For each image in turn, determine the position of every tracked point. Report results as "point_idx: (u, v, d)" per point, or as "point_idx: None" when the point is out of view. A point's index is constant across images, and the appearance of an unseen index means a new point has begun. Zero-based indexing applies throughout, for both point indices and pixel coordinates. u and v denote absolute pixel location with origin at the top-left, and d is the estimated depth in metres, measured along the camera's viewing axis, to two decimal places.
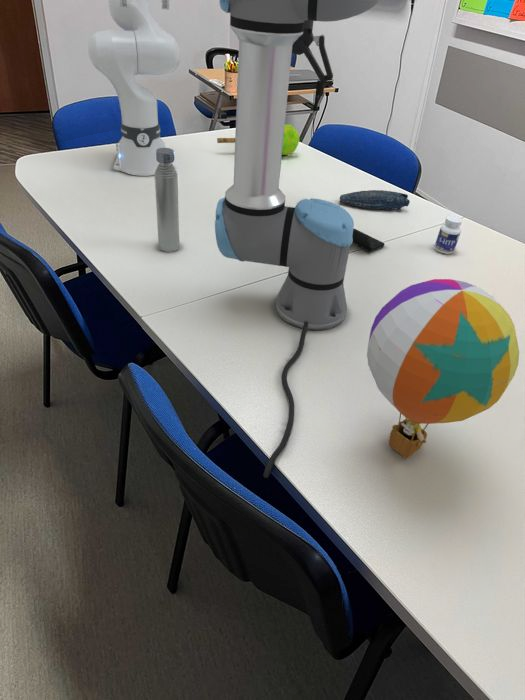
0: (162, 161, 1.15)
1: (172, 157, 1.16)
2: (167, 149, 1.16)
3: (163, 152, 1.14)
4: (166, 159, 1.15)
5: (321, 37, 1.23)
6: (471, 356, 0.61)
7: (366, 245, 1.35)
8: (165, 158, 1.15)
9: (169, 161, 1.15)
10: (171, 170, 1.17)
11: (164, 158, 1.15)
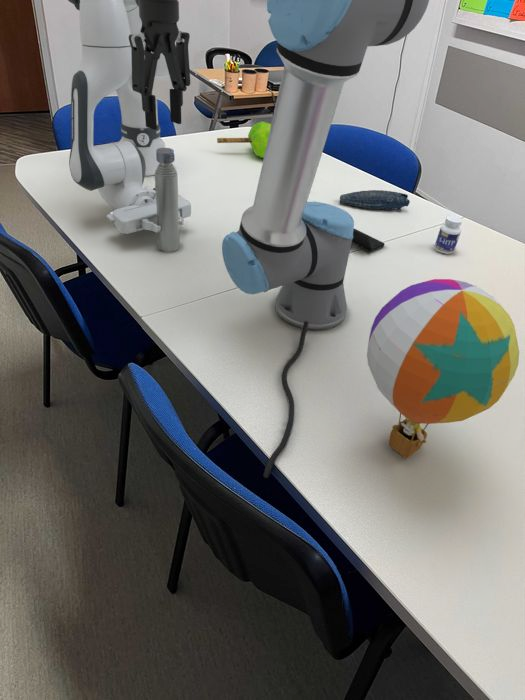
0: (162, 161, 1.15)
1: (172, 157, 1.16)
2: (167, 149, 1.16)
3: (163, 152, 1.14)
4: (166, 159, 1.15)
5: None
6: (471, 356, 0.61)
7: (366, 245, 1.35)
8: (165, 158, 1.15)
9: (169, 161, 1.15)
10: (171, 170, 1.17)
11: (164, 158, 1.15)
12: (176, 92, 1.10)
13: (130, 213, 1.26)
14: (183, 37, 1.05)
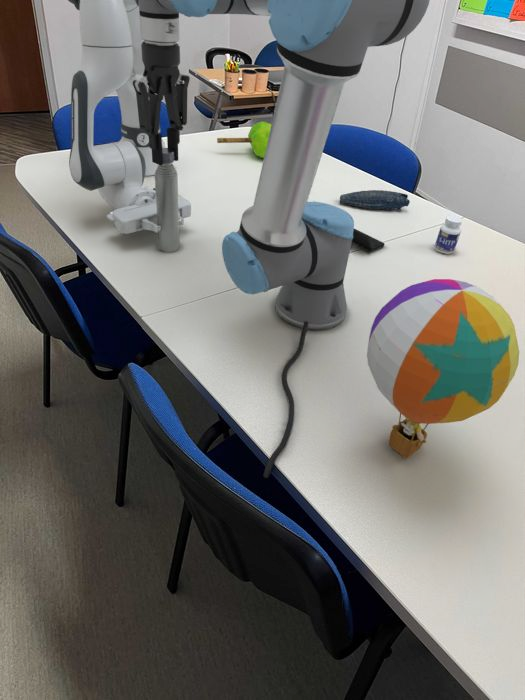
0: None
1: (172, 157, 1.16)
2: (167, 149, 1.16)
3: (163, 152, 1.14)
4: (166, 159, 1.15)
5: None
6: (471, 356, 0.61)
7: (366, 245, 1.35)
8: (165, 158, 1.15)
9: (169, 161, 1.15)
10: (171, 170, 1.17)
11: (164, 158, 1.15)
12: (173, 131, 1.14)
13: (130, 213, 1.26)
14: (183, 79, 1.10)
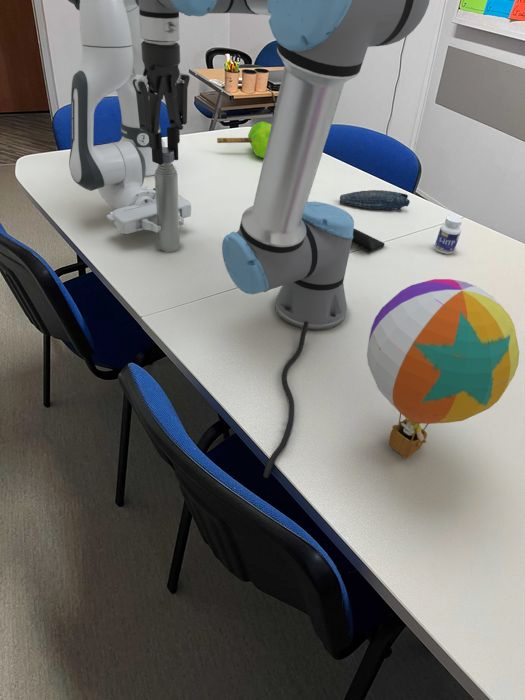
0: None
1: None
2: None
3: (170, 149, 1.16)
4: None
5: None
6: (471, 356, 0.61)
7: (366, 245, 1.35)
8: None
9: None
10: (171, 170, 1.17)
11: None
12: (173, 131, 1.14)
13: (130, 213, 1.26)
14: (183, 79, 1.10)
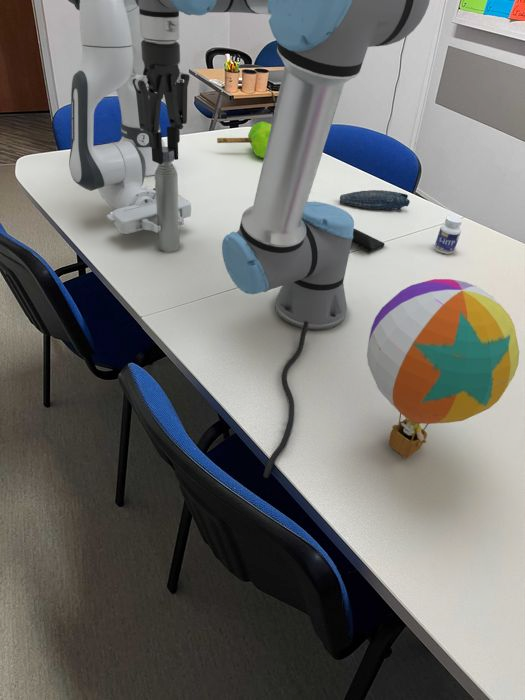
0: None
1: None
2: (168, 150, 1.15)
3: None
4: None
5: None
6: (471, 356, 0.61)
7: (366, 245, 1.35)
8: None
9: None
10: (171, 170, 1.17)
11: None
12: (173, 130, 1.14)
13: (130, 213, 1.26)
14: (183, 78, 1.09)
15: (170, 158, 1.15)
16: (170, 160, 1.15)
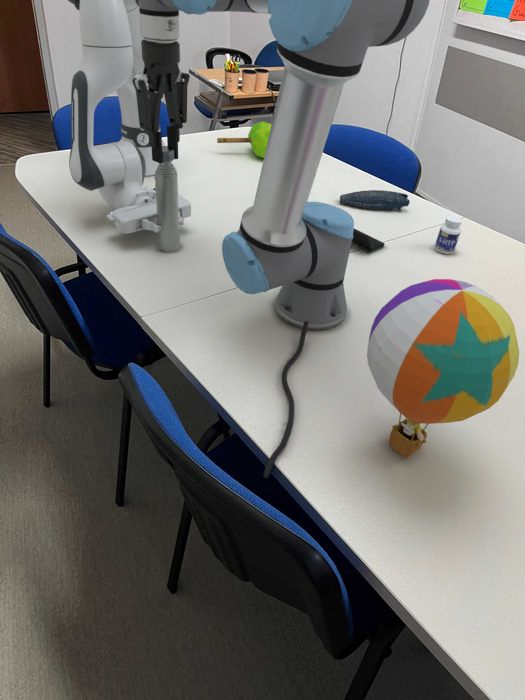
0: (167, 160, 1.15)
1: (173, 154, 1.16)
2: (165, 147, 1.16)
3: (166, 150, 1.14)
4: (170, 156, 1.15)
5: None
6: (471, 356, 0.61)
7: (366, 245, 1.35)
8: (170, 156, 1.15)
9: (172, 158, 1.16)
10: (171, 170, 1.17)
11: (168, 156, 1.15)
12: (173, 129, 1.14)
13: (130, 213, 1.26)
14: (183, 77, 1.09)
15: None
16: None
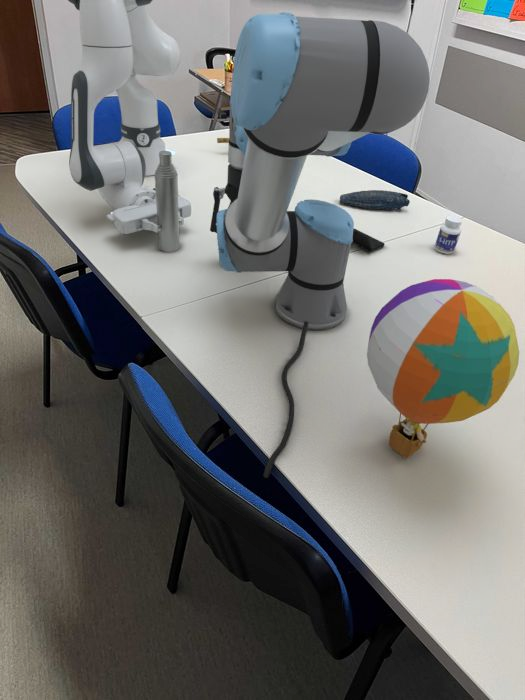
0: None
1: None
2: None
3: None
4: None
5: None
6: (471, 356, 0.61)
7: (366, 245, 1.35)
8: None
9: None
10: (171, 170, 1.17)
11: None
12: None
13: (130, 213, 1.26)
14: None
15: None
16: None
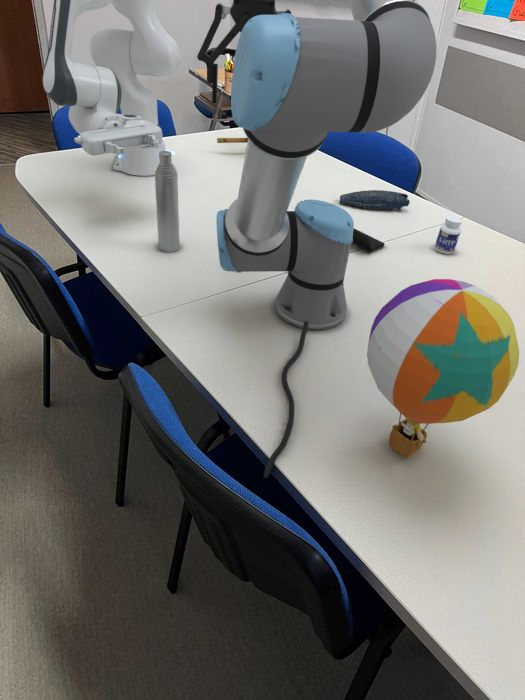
0: None
1: None
2: None
3: None
4: None
5: (287, 12, 0.93)
6: (471, 356, 0.61)
7: (366, 245, 1.35)
8: None
9: None
10: (171, 170, 1.17)
11: None
12: (217, 65, 1.00)
13: (98, 135, 1.23)
14: None
15: None
16: None
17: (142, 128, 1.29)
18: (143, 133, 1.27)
